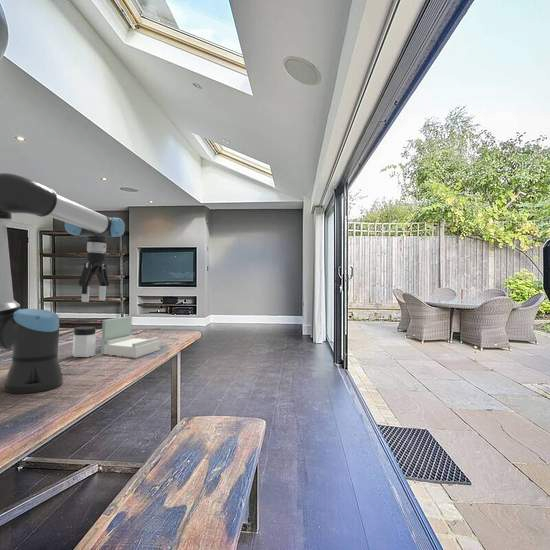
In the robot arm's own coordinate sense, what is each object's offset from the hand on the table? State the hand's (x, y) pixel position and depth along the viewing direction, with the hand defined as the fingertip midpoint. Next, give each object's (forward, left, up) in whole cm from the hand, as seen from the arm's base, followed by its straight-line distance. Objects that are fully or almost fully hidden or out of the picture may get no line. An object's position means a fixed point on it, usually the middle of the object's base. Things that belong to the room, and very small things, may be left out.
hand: (93, 301), depth 152 cm
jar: (-3, +1, -24) cm, 24 cm away
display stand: (+11, -13, -23) cm, 29 cm away
